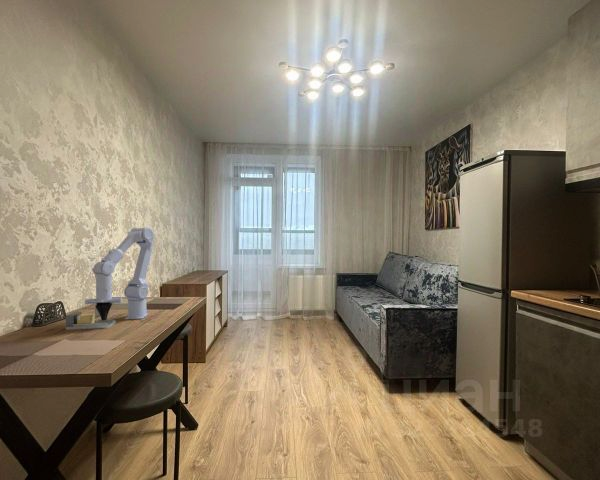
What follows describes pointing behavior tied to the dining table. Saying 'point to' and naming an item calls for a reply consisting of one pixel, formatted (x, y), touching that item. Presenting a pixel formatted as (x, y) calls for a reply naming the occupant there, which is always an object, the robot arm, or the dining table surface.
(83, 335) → the dining table surface
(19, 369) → the dining table surface
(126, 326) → the dining table surface
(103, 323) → the grey flat tray
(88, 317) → the block
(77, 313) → the anvil
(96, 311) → the lighter
